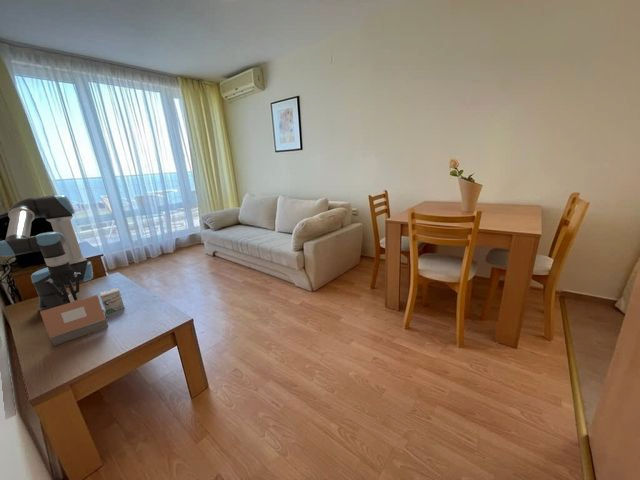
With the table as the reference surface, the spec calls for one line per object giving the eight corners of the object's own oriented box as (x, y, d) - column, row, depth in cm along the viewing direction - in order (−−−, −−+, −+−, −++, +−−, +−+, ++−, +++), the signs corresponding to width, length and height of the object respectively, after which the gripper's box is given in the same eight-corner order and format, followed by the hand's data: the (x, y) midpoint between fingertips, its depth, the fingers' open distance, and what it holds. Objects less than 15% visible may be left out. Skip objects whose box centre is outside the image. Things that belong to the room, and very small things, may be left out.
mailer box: (55, 333, 128) (52, 326, 127) (106, 316, 141) (103, 309, 139) (54, 346, 119) (50, 338, 117) (108, 326, 131) (105, 319, 130)
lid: (40, 311, 115) (39, 311, 114) (97, 294, 128) (97, 295, 127) (50, 337, 117) (49, 338, 116) (105, 318, 130) (105, 319, 129)
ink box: (106, 314, 143) (100, 295, 139) (105, 311, 146) (99, 292, 143) (124, 307, 149) (119, 289, 145) (123, 304, 152) (117, 287, 148)
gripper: (37, 270, 116) (56, 314, 123) (76, 261, 124) (91, 304, 132) (39, 266, 122) (57, 308, 129) (76, 258, 130) (91, 299, 137)
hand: (74, 306), depth 130 cm, fingers closed
